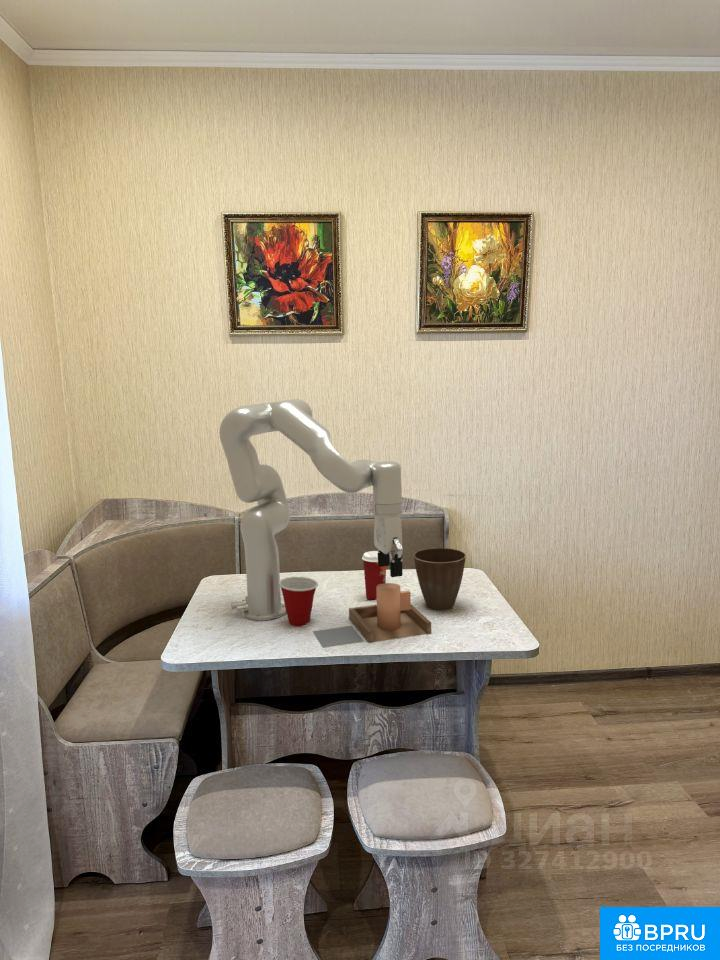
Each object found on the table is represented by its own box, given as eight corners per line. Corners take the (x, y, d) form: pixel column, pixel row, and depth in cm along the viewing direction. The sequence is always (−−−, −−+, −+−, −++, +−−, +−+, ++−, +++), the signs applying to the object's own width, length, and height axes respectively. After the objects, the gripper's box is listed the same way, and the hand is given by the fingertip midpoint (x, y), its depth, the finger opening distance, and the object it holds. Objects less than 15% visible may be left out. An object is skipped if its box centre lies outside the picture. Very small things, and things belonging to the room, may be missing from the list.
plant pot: (408, 614, 194) (408, 560, 192) (419, 596, 208) (419, 546, 206) (461, 619, 190) (461, 564, 187) (468, 600, 204) (469, 549, 201)
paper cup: (388, 602, 204) (387, 557, 202) (362, 602, 204) (361, 557, 202) (387, 593, 212) (387, 550, 209) (363, 593, 212) (362, 550, 209)
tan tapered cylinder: (381, 631, 181) (381, 592, 179) (374, 622, 187) (373, 584, 185) (414, 626, 184) (413, 587, 182) (405, 618, 190) (405, 580, 188)
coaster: (322, 649, 172) (322, 647, 172) (312, 633, 182) (312, 631, 182) (364, 643, 175) (364, 641, 175) (351, 627, 186) (351, 625, 186)
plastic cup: (316, 630, 184) (315, 588, 182) (277, 630, 185) (275, 588, 183) (321, 615, 195) (320, 575, 193) (284, 615, 196) (282, 575, 194)
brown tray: (368, 644, 174) (368, 631, 174) (349, 620, 191) (348, 608, 190) (431, 635, 180) (431, 622, 179) (407, 612, 196) (407, 600, 195)
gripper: (364, 503, 186) (366, 564, 189) (385, 516, 170) (387, 582, 173) (390, 501, 188) (392, 560, 191) (413, 513, 172) (415, 578, 175)
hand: (390, 571), depth 182 cm, fingers open, 9 cm apart
